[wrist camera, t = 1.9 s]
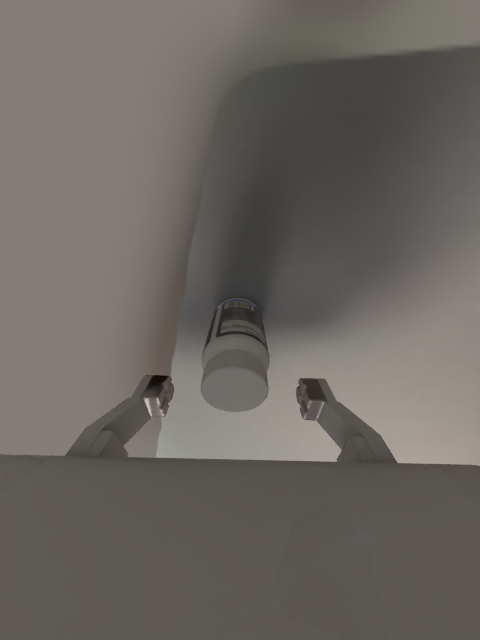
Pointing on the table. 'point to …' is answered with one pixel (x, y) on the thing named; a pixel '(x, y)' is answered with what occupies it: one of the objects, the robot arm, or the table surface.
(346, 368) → the table surface
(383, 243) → the table surface
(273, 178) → the table surface
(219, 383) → the pill bottle
